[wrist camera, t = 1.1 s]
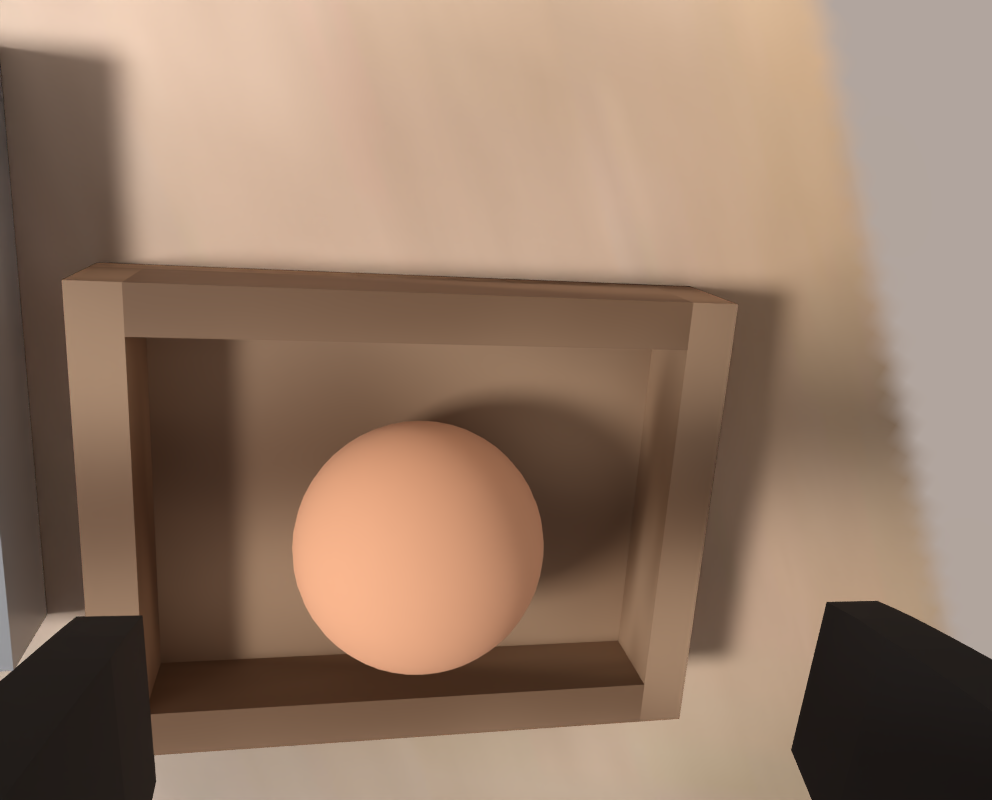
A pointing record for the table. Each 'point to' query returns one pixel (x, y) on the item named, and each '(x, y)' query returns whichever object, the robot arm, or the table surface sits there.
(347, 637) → the brown egg
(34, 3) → the table surface
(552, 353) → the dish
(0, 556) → the tray
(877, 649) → the robot arm
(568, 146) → the table surface
